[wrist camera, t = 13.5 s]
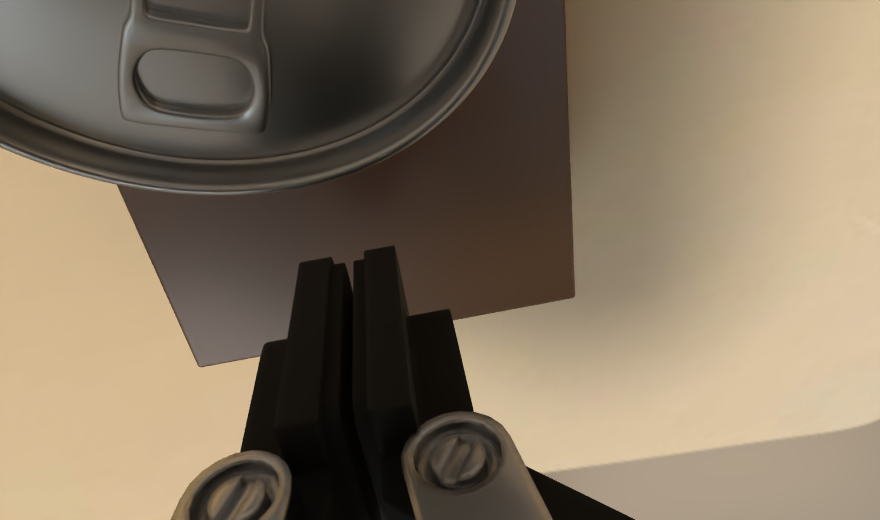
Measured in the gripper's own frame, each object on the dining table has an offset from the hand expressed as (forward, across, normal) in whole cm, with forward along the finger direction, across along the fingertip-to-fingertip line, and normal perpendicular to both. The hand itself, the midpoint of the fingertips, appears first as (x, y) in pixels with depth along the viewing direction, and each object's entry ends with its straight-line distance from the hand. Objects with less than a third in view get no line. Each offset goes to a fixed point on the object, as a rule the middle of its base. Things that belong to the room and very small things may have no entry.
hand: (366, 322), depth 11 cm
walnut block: (+8, 0, -2) cm, 9 cm away
